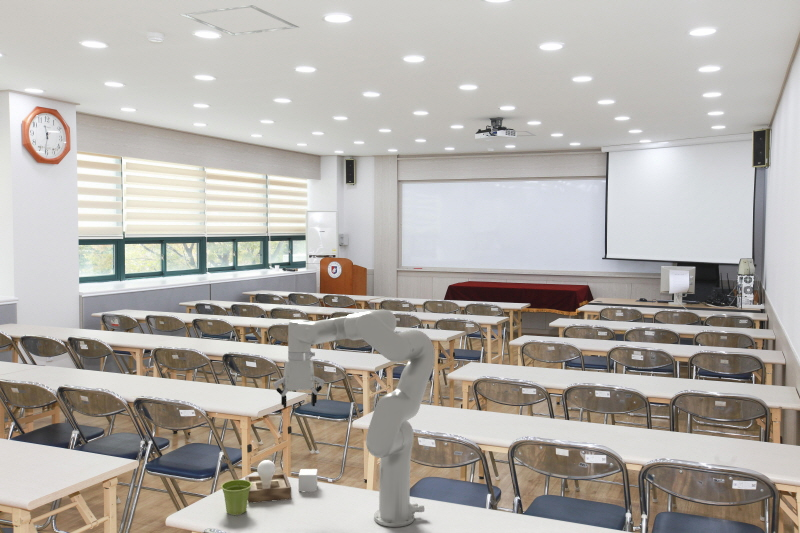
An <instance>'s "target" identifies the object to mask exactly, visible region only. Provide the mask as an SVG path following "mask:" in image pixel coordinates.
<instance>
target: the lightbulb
mask: <svg viewBox="0 0 800 533" xmlns="http://www.w3.org/2000/svg"><path fill="white" fill-rule="evenodd" d="M256 469H257V470H256V471H257V474H258V475H259V476H260V478H261V482H262V489H267V488H270V485H271V480H272V477H273V475H274V474H276V473H275V472H276V465H275V463H274V462H273V461H271V460H270V459H264V460H262V461H261V462H260V463H258V466H257V468H256Z"/></svg>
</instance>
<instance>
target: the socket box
mask: <svg viewBox="0 0 800 533" xmlns="http://www.w3.org/2000/svg"><path fill="white" fill-rule="evenodd" d="M244 480H247V481H249V482H251V483H252V486H251V487H250V491H249V495H248V501H247V504H254V503H253V502H256V503H263V502H262V501H267V502H273V501H272V500H277V501H284V500H285V499H287V500H292V486H291V483H290V481H289V478H288V475H287V473H286V472H283V473H282V472H281V473H274V475H273V477H272V480H271V485H270V488H267V489H262V482H261V478H260V476H259V474H258V475H249V476H245V479H244Z"/></svg>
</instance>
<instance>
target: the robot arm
mask: <svg viewBox="0 0 800 533" xmlns="http://www.w3.org/2000/svg"><path fill="white" fill-rule="evenodd" d="M397 323H398V322H397V318H396V315H395V314H394V313H393V312H392V311H390V310H389V309H383V308H382V309H377V310H376V309H375V310H369V311H363V312H356V313H349V314H347V316H340V317H333V318H329V319H327V318H326V319H321V320H315V321H310V320H308V319H303V318H301V319H292V320H289V322H288V327H287V328H288V332H287V333H288V335H287V338H288V340H287V342H288V344H287V346H288V348H287V349H288V350H287V357H288V358H287V359H286V360H285V362H284V368H283V369H284V370H283V377H281V378H280V379H278V380H276V381H274V382H273V387H274V388H275V391H276V392H277V393H279V395H280V396H281V400H280V402H281V403H280V404H281V406H283V408H284V409H286V408H287V393H289V391H290V392H292V391H306V390H307V391H308V390H310V391H311V394H310V395H311V398H310V399H311V406H312V407H316V405H315V404H317V395H318V394H319V392H320V391H321V390H322V389H323V386H324V385H325V383H326V381H325V380H324V379H322V378H320V377H318V376H315V369H314V362H313V359H312V358H313V357H315V356H316V352H313V351H311V350H312V349H311V348H312V346H314V345H315V346H316V345H319V344H324V343H328V342H329V343H330V342H333V341H340V340H347V339H349V340H351V341H360V340H363V341H364V342H366V343H367V344H368V345H369V346H370V347H371V348H373V349H374V350H375V351H377V352H378V354H380V355H381V356H383V357H384V358H386V360H388V361H390V362H393V363H401V362H405V361H407V363H406V365H405V366H404V368H403V370H402V372H401V374H400V379H399V380H398V384H397V385H396V388H395V390H393V391H391V392H389V393H386V394H385V395H382V397H380V399H379V400H378V401H377V402H376V405H375V408H374V410H373V412H372V416H371V419H370V422H369V425H368V428H367V432H366V436H365V445H366V449H367V450H368V452H369V454H370V455H372V456H373V457H375V458H378V459H380V460H379V486H378V487H379V490H378V491H379V496H378V498H379V499H378V500H379V505H378V510H377V511H376V512H375V513H374V515H373V519H374V521H375V523H377V524H379V525H381V526H384V527H388V528H389V527H390V528H391V527H392V528H400V527H406V526H408V525H410V524H412V523H413V522H414V521H415V513H424V512H425V505H419V504H418V503H410V499H411V498H410V495H411V494H410V492H411V459H412V458H411V456H412V451H413V450H412V449H413V444H414V430H413V426H412V425H411V423H410V422H409V421H408V420H411V419H413V418H414V417H415V416H416V415H417V414H418V412H419V411H420V408H421V404H422V402H423V398H424V395H425V392H426V389H427V385H428V383H429V381H430V377H431V375H432V372H433V370H434V365H435V363H436V362H435V361H436V351H435V346H434V345H433V341H432V340H431V338H430V337H429V336H428V335H427V334H426V333H424V331H421V330H416V329H413V330H412V329H411V330H406V331H401V332H396V331H395V329H396V327H397ZM311 345H312V346H311ZM315 381H316V382H317V383H319V384H318V385H317V386H316V385H315ZM281 384H283V388H282V389H281V388H280V387H279V386H280V385H281ZM315 386H316V388H315Z"/></svg>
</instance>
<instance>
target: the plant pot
mask: <svg viewBox="0 0 800 533" xmlns="http://www.w3.org/2000/svg"><path fill="white" fill-rule="evenodd" d="M251 486H252V483H251V482H249V481H247V480H245V479H232V480H228V481H226V482H223V483H222V484H221V486H220V488H221V490H222V492H223V495H224V501H225V502H224V503H225V508H226V509H225V510H226V513H227V515H229V514H230V515H231V516H237V515H238V516H240V515H242V514H243V513H246V511H247V508H248V506H247V505H248V495H249V491H250V487H251Z"/></svg>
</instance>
